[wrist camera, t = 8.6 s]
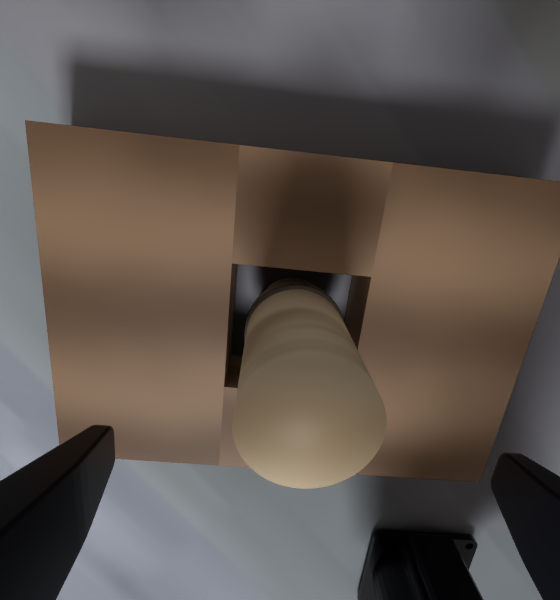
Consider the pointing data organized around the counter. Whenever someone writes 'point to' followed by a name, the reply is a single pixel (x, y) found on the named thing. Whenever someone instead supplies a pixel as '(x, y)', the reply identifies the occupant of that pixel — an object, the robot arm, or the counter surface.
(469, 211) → the walnut board
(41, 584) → the robot arm
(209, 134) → the counter surface
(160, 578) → the counter surface
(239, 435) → the birch peg
